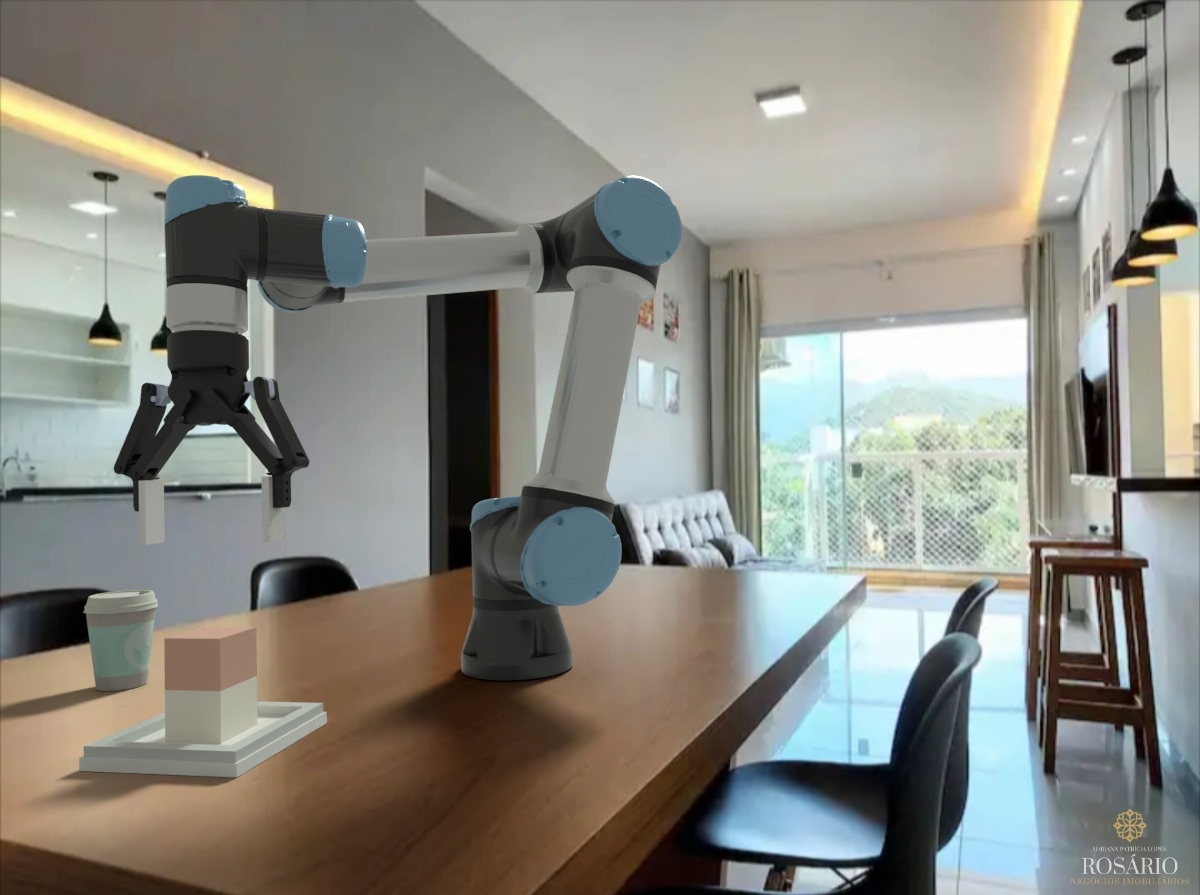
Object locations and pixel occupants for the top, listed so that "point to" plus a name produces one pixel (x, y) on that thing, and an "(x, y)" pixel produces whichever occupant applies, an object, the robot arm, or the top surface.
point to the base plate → (203, 745)
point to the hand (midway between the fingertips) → (212, 543)
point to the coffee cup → (121, 637)
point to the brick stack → (210, 684)
